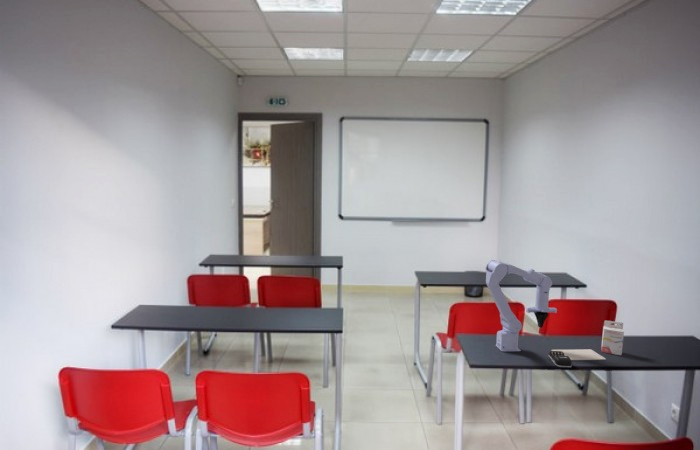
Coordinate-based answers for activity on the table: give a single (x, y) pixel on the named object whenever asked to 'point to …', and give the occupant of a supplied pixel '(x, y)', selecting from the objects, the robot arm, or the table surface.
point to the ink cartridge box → (612, 338)
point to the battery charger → (560, 359)
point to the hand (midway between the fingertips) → (540, 326)
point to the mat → (582, 354)
